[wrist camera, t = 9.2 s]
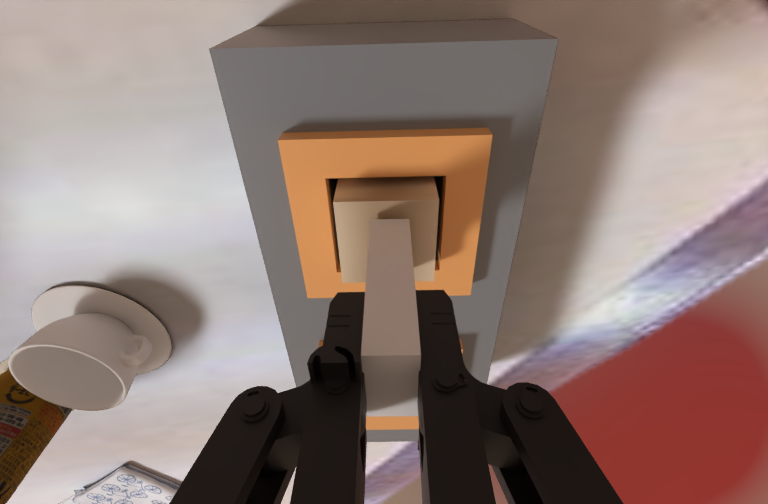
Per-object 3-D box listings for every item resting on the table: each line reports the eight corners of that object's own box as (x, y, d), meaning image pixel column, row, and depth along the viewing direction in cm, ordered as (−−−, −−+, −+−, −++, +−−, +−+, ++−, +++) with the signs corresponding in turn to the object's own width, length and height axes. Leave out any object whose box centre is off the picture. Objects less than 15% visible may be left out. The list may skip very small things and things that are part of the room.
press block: (321, 373, 34) (309, 453, 28) (255, 26, 19) (200, 53, 13) (462, 371, 34) (477, 451, 28) (512, 18, 18) (567, 42, 13)
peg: (352, 207, 23) (342, 282, 17) (346, 139, 20) (333, 202, 15) (422, 205, 23) (434, 280, 17) (424, 137, 20) (439, 199, 15)
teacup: (91, 376, 35) (55, 427, 31) (4, 292, 29) (-53, 342, 25) (197, 361, 33) (173, 412, 30) (128, 270, 28) (87, 319, 24)
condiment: (-15, 372, 34) (-174, 535, 24) (41, 336, 31) (-113, 503, 22) (65, 413, 38) (-46, 569, 28) (121, 383, 35) (20, 545, 25)
